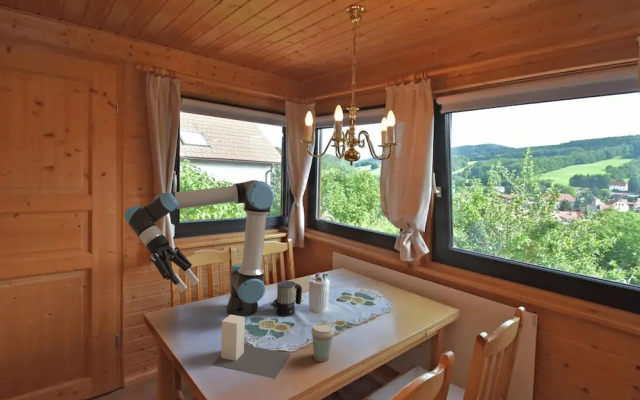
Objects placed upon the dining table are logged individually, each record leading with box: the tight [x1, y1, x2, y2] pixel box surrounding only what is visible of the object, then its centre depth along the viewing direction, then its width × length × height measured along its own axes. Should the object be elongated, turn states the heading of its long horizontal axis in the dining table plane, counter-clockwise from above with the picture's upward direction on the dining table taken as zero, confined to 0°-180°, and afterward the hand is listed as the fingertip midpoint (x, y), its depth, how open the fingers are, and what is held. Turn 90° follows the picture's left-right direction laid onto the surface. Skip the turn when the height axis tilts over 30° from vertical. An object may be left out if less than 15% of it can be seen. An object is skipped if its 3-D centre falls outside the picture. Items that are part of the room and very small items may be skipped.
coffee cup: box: [311, 322, 335, 362], centre depth 128 cm, size 8×9×12 cm
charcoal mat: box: [211, 344, 291, 380], centre depth 124 cm, size 24×16×1 cm, turn 75°
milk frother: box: [272, 280, 303, 317], centre depth 170 cm, size 14×16×15 cm
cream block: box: [220, 314, 246, 361], centre depth 126 cm, size 6×6×14 cm
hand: (190, 286), depth 129 cm, fingers open, 7 cm apart
